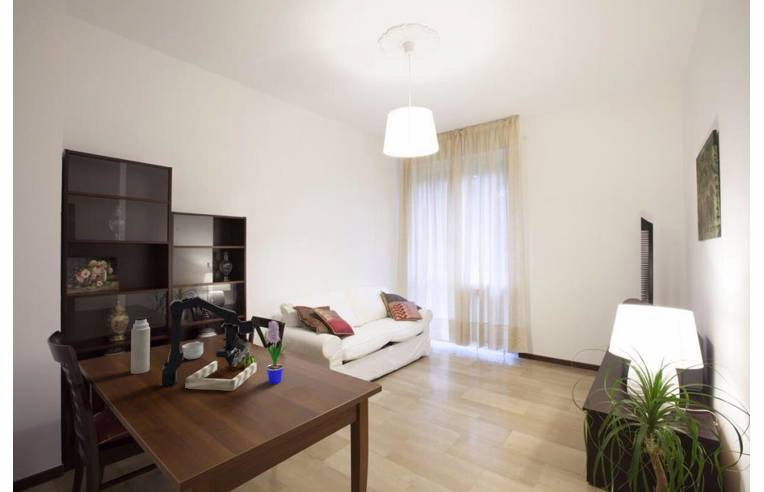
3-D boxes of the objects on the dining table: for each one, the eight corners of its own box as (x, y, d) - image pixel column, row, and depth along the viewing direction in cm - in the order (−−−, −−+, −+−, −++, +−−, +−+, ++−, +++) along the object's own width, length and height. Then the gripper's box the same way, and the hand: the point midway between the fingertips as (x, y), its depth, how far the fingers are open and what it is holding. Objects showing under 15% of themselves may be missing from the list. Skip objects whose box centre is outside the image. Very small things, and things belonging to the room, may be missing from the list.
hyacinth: (281, 386, 162) (282, 323, 161) (261, 384, 164) (262, 321, 163) (289, 379, 170) (290, 319, 170) (271, 377, 172) (272, 318, 172)
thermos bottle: (139, 367, 182) (140, 315, 182) (153, 368, 181) (153, 316, 181) (126, 373, 174) (127, 318, 174) (141, 374, 173) (141, 319, 173)
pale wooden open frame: (233, 390, 156) (233, 380, 156) (185, 388, 157) (185, 378, 157) (256, 370, 180) (256, 362, 180) (214, 369, 182) (214, 360, 182)
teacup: (196, 361, 193) (196, 347, 193) (177, 360, 194) (178, 346, 194) (209, 353, 207) (209, 340, 207) (192, 353, 208) (192, 339, 208)
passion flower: (235, 377, 186) (227, 355, 190) (257, 368, 194) (248, 347, 198) (240, 371, 177) (231, 347, 181) (262, 361, 185) (253, 339, 189)
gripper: (237, 341, 166) (236, 372, 166) (254, 331, 184) (253, 360, 184) (215, 340, 166) (214, 372, 166) (234, 330, 185) (233, 359, 185)
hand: (230, 365), depth 176 cm, fingers closed
